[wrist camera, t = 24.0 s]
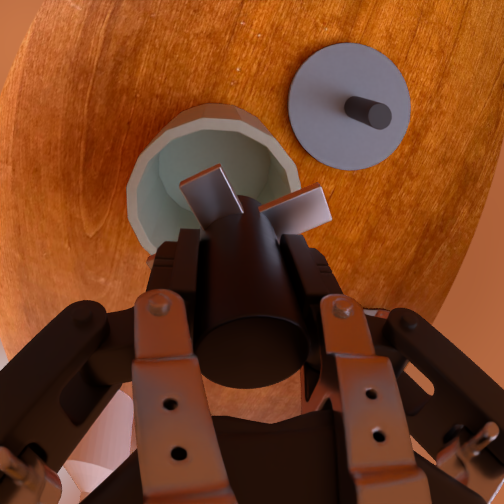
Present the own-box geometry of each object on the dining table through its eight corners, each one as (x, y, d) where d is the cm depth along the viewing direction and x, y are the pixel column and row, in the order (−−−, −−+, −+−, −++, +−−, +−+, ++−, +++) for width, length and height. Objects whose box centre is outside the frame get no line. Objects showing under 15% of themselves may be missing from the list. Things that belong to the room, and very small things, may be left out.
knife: (328, 317, 44) (339, 302, 42) (327, 314, 44) (338, 299, 43) (394, 329, 47) (404, 315, 46) (393, 326, 48) (403, 313, 46)
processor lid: (276, 158, 31) (290, 180, 26) (296, 30, 24) (316, 20, 19) (390, 175, 34) (420, 198, 28) (414, 64, 26) (451, 68, 21)
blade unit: (193, 308, 16) (190, 434, 10) (121, 203, 12) (57, 321, 6) (337, 249, 15) (401, 365, 9) (291, 122, 11) (373, 184, 5)
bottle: (79, 405, 53) (60, 512, 32) (76, 375, 47) (49, 501, 26) (133, 418, 56) (125, 527, 35) (138, 391, 50) (127, 521, 29)
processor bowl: (152, 217, 33) (132, 275, 25) (154, 101, 27) (125, 115, 18) (267, 223, 35) (285, 281, 27) (284, 110, 29) (316, 129, 20)
